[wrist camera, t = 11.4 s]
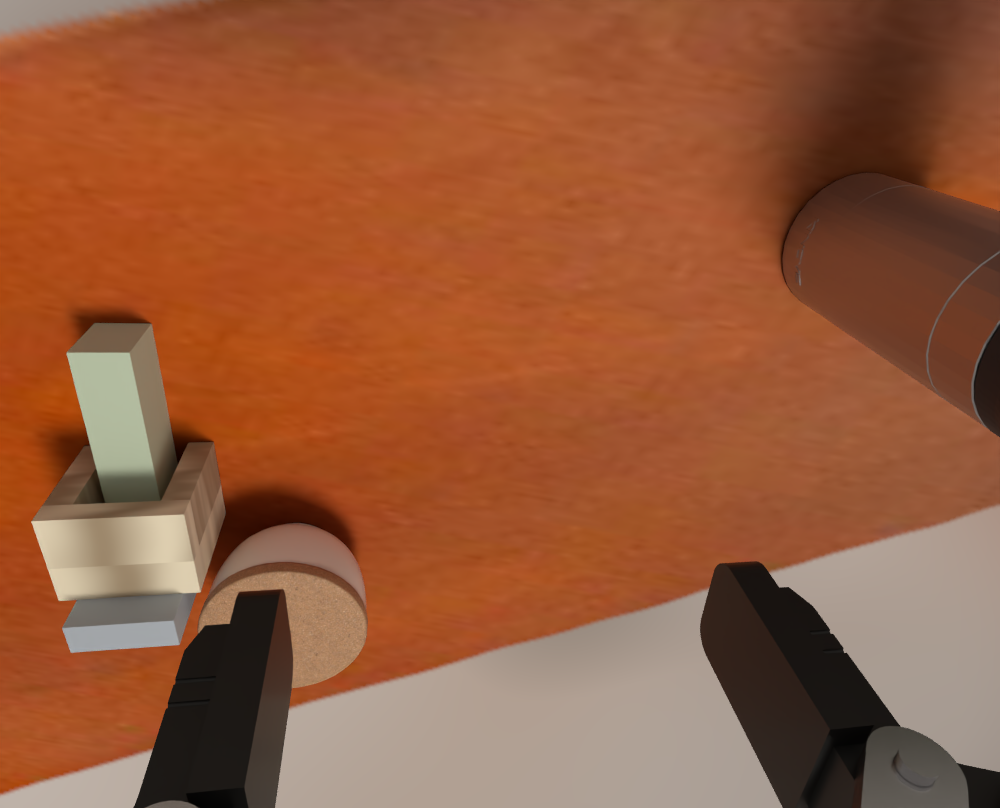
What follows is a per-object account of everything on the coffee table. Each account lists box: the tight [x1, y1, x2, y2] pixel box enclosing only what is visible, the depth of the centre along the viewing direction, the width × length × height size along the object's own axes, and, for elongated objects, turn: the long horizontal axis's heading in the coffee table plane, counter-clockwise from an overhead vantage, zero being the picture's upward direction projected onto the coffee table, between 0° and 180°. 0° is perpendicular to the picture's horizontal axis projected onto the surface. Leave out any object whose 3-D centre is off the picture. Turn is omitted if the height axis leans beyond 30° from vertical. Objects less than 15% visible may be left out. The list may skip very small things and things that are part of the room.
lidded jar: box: [198, 523, 368, 688], centre depth 48 cm, size 11×11×9 cm
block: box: [31, 442, 226, 601], centre depth 44 cm, size 8×6×8 cm
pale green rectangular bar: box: [67, 323, 178, 503], centre depth 43 cm, size 3×12×4 cm, turn 176°
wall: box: [62, 593, 196, 652], centre depth 44 cm, size 6×2×10 cm, turn 87°
